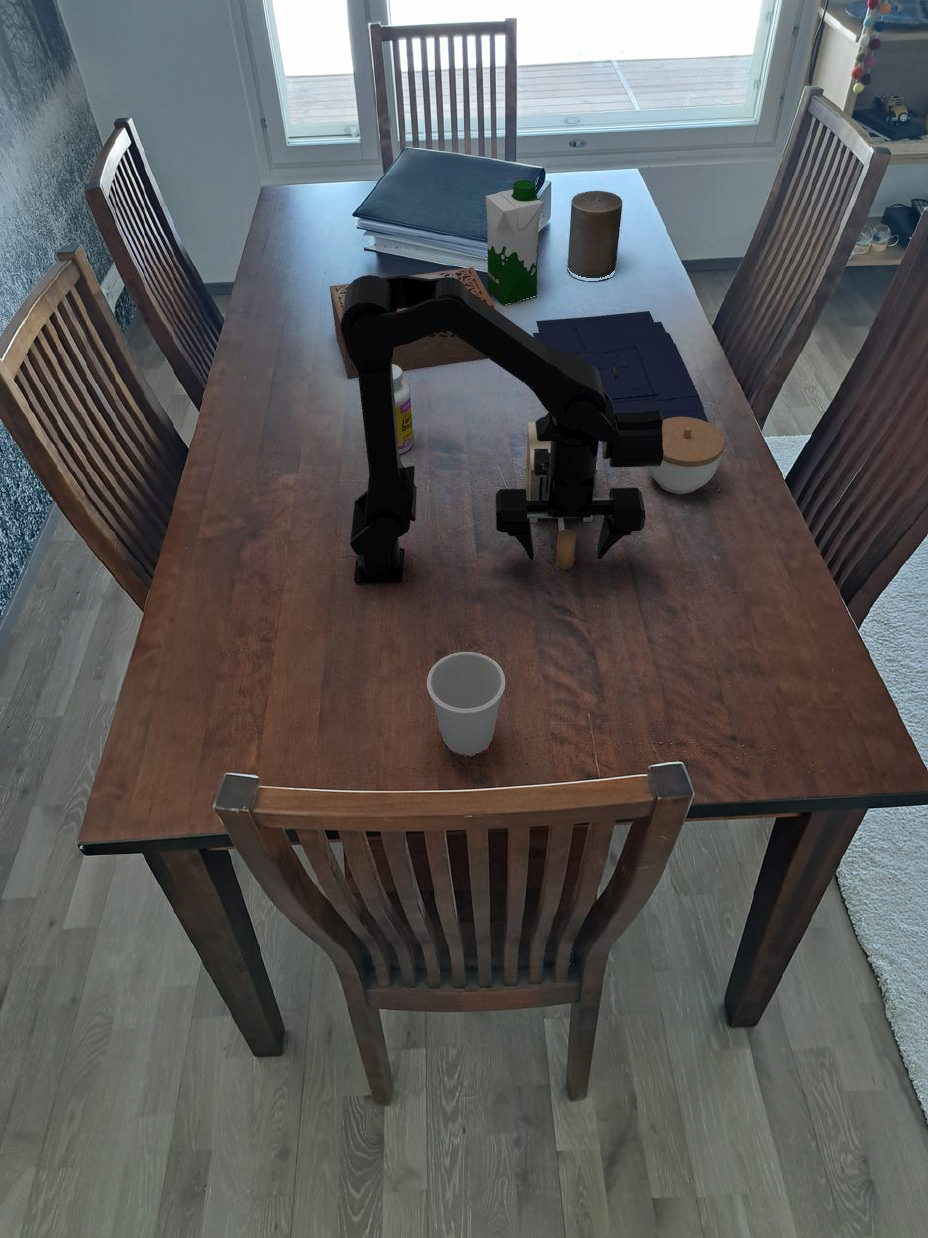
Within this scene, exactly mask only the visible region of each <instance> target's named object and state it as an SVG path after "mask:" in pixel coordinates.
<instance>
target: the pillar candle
mask: <svg viewBox="0 0 928 1238" xmlns="http://www.w3.org/2000/svg"><path fill="white" fill-rule="evenodd" d="M622 211H623V200H622V198H621V196H619V195H617V194H616V193H613V192H611V191H604V190H588V191H584V192H579V193H577V194H575V195H573V197H572V199H571V205H570V223H569V236H568V237H569V238H568V239H569V240H568V251H567V252H568V253H567V267H568V268H569V270H570V271H571V272H572V273H574V274H576V275H578V276H581V277H586V278H600V277H601V278H602V277H605V276H607V275H610V274H611V273H612V272H613V271H614V270H615V268H616V269H617V267H616V266H617V261H618V248H619V241H620V240H619V239H620V231H621V229H620V228H621V221H622Z"/></svg>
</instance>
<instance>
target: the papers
mask: <svg viewBox="0 0 928 1238" xmlns="http://www.w3.org/2000/svg"><path fill="white" fill-rule="evenodd" d="M535 323H536V326H537V330H538V332H532V335H533V336H532V337H534V338H535V339H537V340H538V341H539V342H541V343H542V344H543V345H545V346H547V347H549V348H551V349H553V350H557V351H564V352H569V353H571V354H573V355H575V356H578V357H580V358H582V359H584V360H586V361H588V362H590V363H592V364H593V365H594V366H595V367H596V368H597V369H598V371H599V373H600V376H601V381H602V386H603V389H604V390H605V392H606V393H607V394H608V396H609V397H610V398H611V399H612V402H613V407H614V411H615V413H636V412H646V411H660V412H661V415H662V419H663V420H664V419H668V418H673V417H691V418H696V419H700V420H703V421H706V422H708V423H710V422H709V419H708V417H707V414H706V412H705V407H704V405H703V403H702V401H701V398H700V397H701V396H700V395H699V392H698V391H697V388H696V386H695V384H694V381H693V379H692V377H691V375H690V373H689V370H688V369H687V366H686V364H685V361H684V360H683V358H682V356H681V353H680V351H679V348H678V346H677V344H676V343H675V342H674V339H673V338H672V336H671V334H670V332H667V331H666V328H665V326H664V325H663V323H662V321H661V320H660V321H655V320H654V318H653V316H652V314H651V312H650V310H645V311H635V312H624V313H616V314H614V313H613V314H605V315H595V316H583V317H581V316H580V317H572V318H571V317H570V318H559V319H558V318H557V319H556V318H555V319H545V320H535Z"/></svg>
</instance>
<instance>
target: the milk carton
mask: <svg viewBox="0 0 928 1238" xmlns="http://www.w3.org/2000/svg"><path fill="white" fill-rule="evenodd" d="M512 185H513V187H512V188H513V189H510V190H508V189H507V190H502V191H498V192H497V193H493V194H487V195H485V205H486V206H485V207H486V220H487V221H486V222H487V291H488V292H489V291H490V292H491V293H490V292H489V293H490V294H491V295H492V296H493V295H494V296H495V297H496V298H497V299H498V300H499V301H498V300H497V299H496V300H497V301H498V302H499V303H500V304H501V305H502V306H504V305H505V304H508V303H513V302H517V301H520V300H523V299H526V298H530V297H533V296H536V295H538V255H539V251H538V250H539V234H540V233H539V230H540V220H541V215H542V209H543V206H544V202H543V201H542V200H541V199H540V197H539V198H538V195H537V194H536V192H537V191H536V188H537V186H536V183H535V181H532V180H528V179H523V180H517V181H515V182H514V183H513V184H512ZM494 296H493V297H494ZM495 297H494V298H495ZM517 303H518V302H517ZM513 304H514V303H513ZM505 306H506V305H505Z"/></svg>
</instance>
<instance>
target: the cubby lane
mask: <svg viewBox="0 0 928 1238" xmlns="http://www.w3.org/2000/svg"><path fill="white" fill-rule="evenodd" d="M535 422H536V421H528V422H527V432H526V433H527V436H526V437H527V439H526V460H525V461H526V463H525V464H526V465H525V478H526V480H525V481H526V496H527V501H540V500H539V499H540V477H546V475H540V476H535V474H534V449H548V452H549V453H550V447H551V441H542V442H540V441H538V440H537V434H536V425H535ZM597 477H598V463H597V464H596V473H595V483H594V492H593V498H596V496H595V495H596V486H597V480H598V478H597ZM593 517H594V515H591V517H582V520H583V521H582V522H583V523H587V522H588V523H592V522H593ZM538 519H539V518H530V523H538V522H539V521H538Z"/></svg>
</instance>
